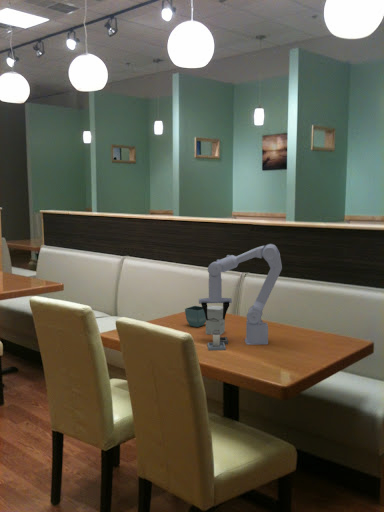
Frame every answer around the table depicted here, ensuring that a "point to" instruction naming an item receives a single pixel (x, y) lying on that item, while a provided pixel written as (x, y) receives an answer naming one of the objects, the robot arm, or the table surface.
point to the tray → (210, 347)
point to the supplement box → (215, 320)
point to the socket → (224, 340)
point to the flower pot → (195, 316)
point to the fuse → (216, 338)
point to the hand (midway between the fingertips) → (215, 319)
